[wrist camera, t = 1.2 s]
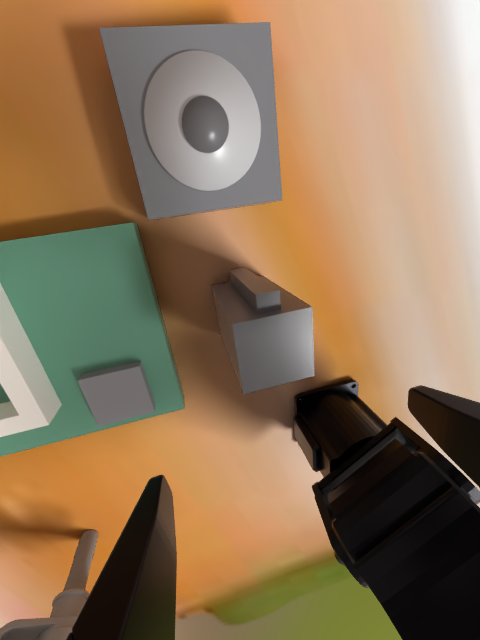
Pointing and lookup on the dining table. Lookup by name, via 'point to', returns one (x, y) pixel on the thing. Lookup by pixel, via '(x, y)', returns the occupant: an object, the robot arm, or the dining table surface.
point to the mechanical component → (59, 601)
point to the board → (80, 337)
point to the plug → (264, 331)
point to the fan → (198, 114)
